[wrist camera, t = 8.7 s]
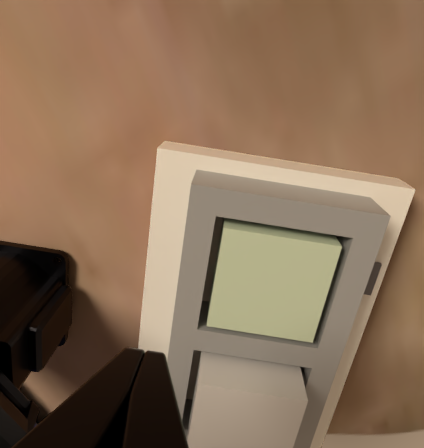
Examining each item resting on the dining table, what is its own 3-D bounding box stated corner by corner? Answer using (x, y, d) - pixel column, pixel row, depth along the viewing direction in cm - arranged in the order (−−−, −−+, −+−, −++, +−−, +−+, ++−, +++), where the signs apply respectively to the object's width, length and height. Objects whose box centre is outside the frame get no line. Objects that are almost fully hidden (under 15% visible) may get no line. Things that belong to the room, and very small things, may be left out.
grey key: (189, 418, 21) (184, 460, 19) (201, 346, 19) (197, 383, 17) (278, 432, 21) (283, 476, 19) (299, 361, 19) (308, 401, 17)
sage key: (209, 296, 20) (206, 326, 18) (225, 207, 18) (223, 227, 16) (303, 311, 20) (312, 342, 18) (328, 224, 18) (342, 246, 16)
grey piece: (131, 460, 28) (114, 528, 24) (164, 140, 19) (145, 159, 15) (292, 485, 28) (302, 557, 24) (398, 178, 19) (443, 207, 15)
